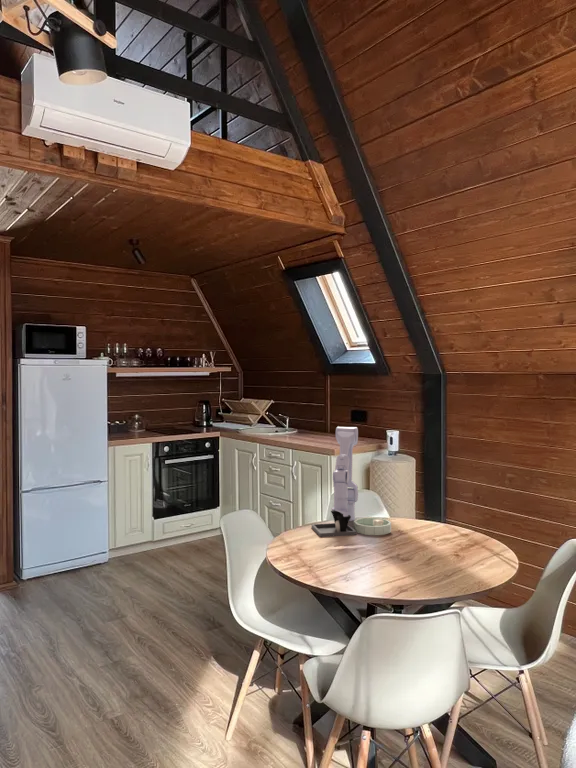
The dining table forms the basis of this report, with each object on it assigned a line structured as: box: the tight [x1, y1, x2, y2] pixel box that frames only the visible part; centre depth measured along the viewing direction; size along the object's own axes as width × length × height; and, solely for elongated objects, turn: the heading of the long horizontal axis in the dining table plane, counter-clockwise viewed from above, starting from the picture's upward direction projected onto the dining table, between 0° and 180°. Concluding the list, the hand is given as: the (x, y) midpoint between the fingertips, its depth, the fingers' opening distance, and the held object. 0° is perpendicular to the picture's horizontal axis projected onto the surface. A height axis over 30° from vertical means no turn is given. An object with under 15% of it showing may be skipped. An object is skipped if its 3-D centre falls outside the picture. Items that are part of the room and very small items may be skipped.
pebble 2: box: [373, 519, 384, 526], centre depth 249 cm, size 4×4×4 cm
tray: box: [311, 522, 357, 538], centre depth 247 cm, size 15×16×2 cm
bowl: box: [353, 516, 392, 536], centre depth 249 cm, size 16×16×4 cm
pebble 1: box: [334, 520, 341, 532], centre depth 247 cm, size 4×4×4 cm
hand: (340, 529), depth 247 cm, fingers open, 7 cm apart
